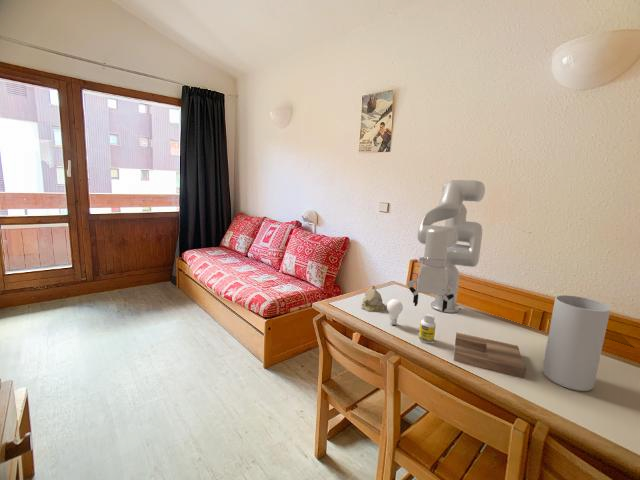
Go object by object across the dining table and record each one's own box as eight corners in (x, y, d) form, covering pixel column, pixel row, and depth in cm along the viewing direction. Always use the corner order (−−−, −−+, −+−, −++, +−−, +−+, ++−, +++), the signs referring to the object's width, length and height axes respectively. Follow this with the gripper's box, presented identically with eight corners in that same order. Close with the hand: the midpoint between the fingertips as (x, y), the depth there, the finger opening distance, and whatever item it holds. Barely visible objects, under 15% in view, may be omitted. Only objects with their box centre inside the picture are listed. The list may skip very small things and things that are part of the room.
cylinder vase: (578, 396, 87) (595, 313, 83) (532, 371, 98) (546, 297, 94) (602, 386, 92) (619, 308, 88) (556, 364, 103) (570, 293, 99)
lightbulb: (395, 329, 124) (397, 303, 122) (382, 323, 129) (384, 298, 127) (404, 325, 128) (406, 300, 126) (391, 319, 133) (393, 295, 131)
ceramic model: (387, 312, 141) (388, 291, 139) (363, 311, 141) (364, 290, 139) (380, 300, 155) (381, 281, 153) (358, 300, 154) (359, 281, 153)
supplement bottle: (418, 341, 115) (420, 317, 113) (419, 335, 120) (421, 311, 118) (433, 345, 113) (436, 320, 111) (433, 338, 118) (436, 314, 116)
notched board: (455, 339, 117) (456, 332, 117) (516, 353, 109) (517, 345, 109) (453, 360, 103) (454, 352, 103) (523, 378, 95) (525, 369, 94)
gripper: (408, 261, 111) (403, 306, 114) (460, 268, 104) (454, 316, 106) (411, 257, 118) (407, 300, 120) (460, 264, 110) (455, 309, 113)
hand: (429, 307), depth 113 cm, fingers open, 9 cm apart
